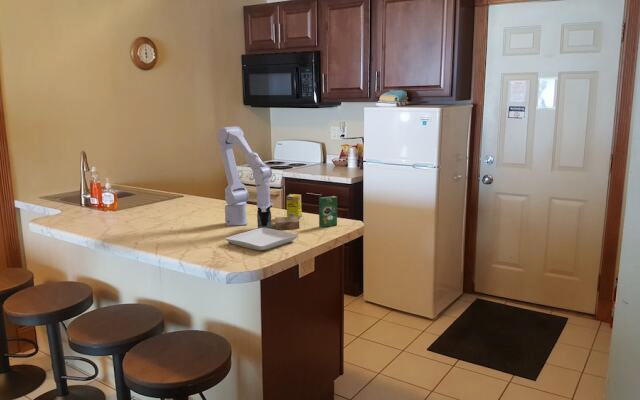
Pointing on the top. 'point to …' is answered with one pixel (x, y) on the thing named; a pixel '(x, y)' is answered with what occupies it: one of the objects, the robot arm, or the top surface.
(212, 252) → the top surface
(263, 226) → the block
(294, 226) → the stand
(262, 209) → the robot arm
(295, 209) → the supplement box
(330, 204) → the coffee box
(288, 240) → the salad plate
